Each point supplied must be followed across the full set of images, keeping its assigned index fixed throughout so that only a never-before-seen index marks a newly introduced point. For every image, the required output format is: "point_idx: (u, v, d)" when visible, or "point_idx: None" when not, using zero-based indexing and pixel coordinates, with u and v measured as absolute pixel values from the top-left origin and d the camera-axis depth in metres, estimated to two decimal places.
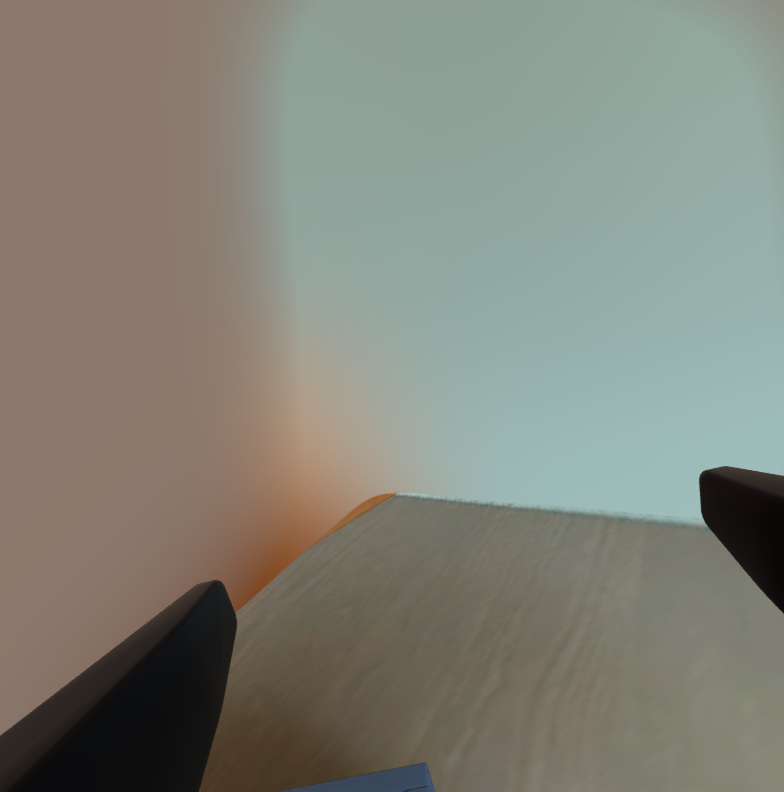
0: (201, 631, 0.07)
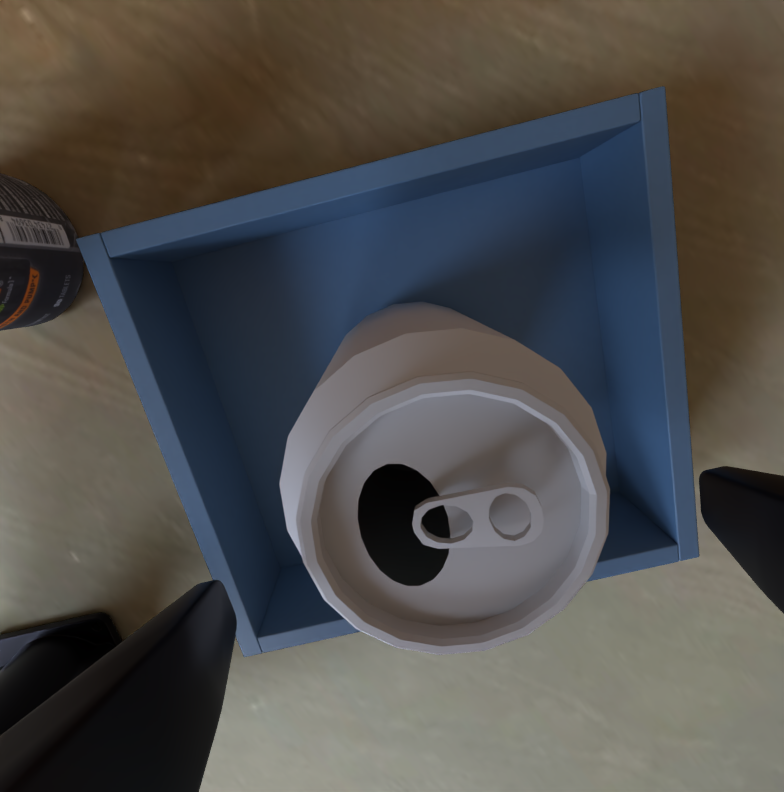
0: (201, 631, 0.07)
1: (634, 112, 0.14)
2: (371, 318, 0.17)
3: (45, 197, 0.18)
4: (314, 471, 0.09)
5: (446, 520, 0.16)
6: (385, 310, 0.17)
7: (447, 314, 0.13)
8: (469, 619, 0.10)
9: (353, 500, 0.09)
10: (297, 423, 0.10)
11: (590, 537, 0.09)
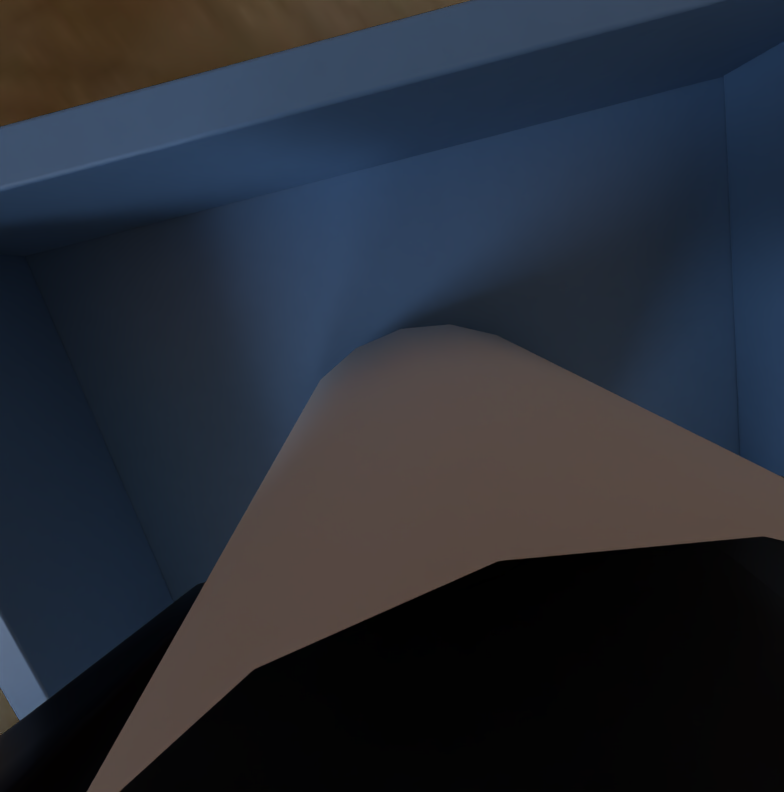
0: None
1: None
2: (362, 360, 0.09)
3: None
4: None
5: (504, 746, 0.08)
6: (387, 343, 0.10)
7: (536, 373, 0.06)
8: None
9: None
10: None
11: None
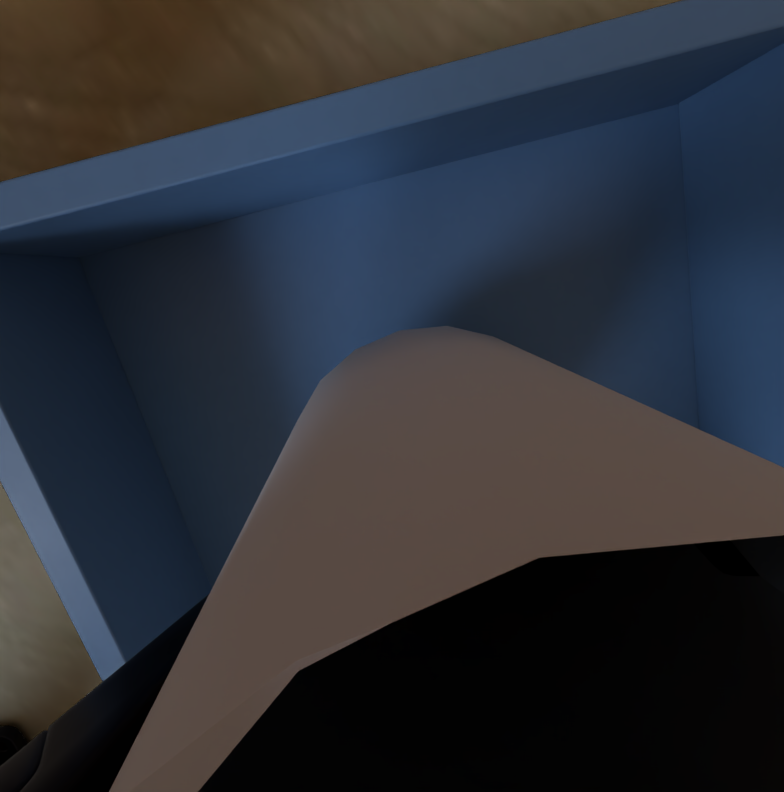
0: None
1: None
2: (363, 360, 0.09)
3: None
4: None
5: (505, 738, 0.09)
6: (388, 344, 0.10)
7: (537, 371, 0.06)
8: None
9: None
10: None
11: None
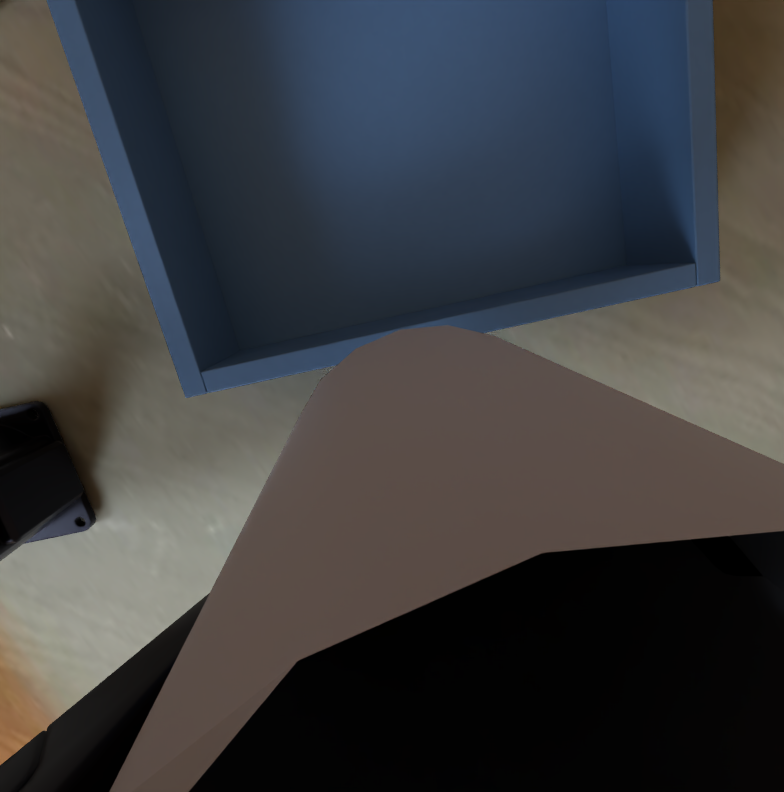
0: None
1: None
2: (364, 359, 0.09)
3: None
4: None
5: (506, 738, 0.09)
6: (388, 343, 0.10)
7: (539, 369, 0.06)
8: None
9: None
10: None
11: None
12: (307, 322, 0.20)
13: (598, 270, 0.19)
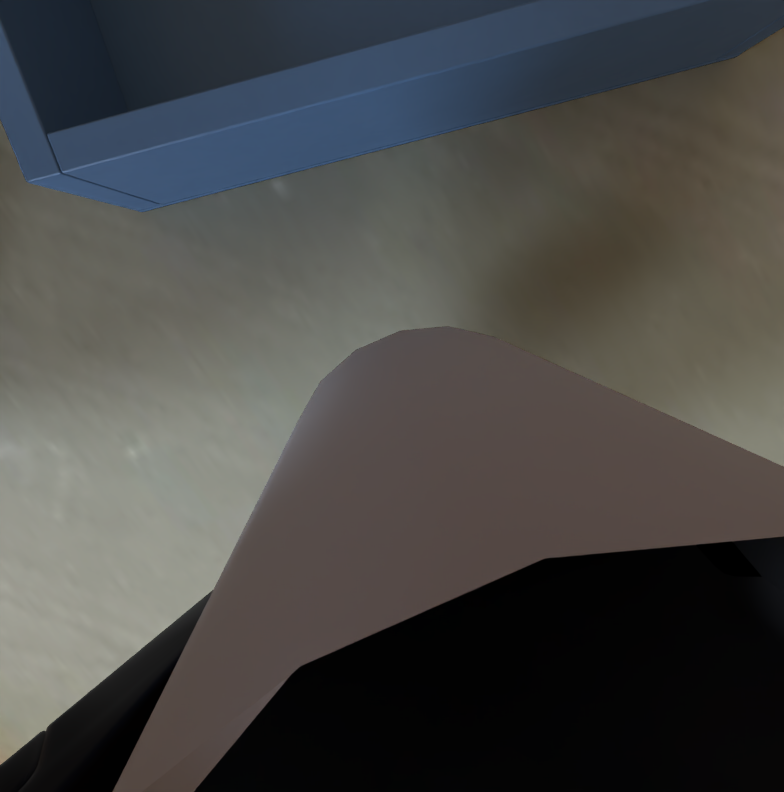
0: None
1: None
2: (364, 361, 0.09)
3: None
4: None
5: (506, 740, 0.09)
6: (389, 344, 0.10)
7: (540, 371, 0.06)
8: None
9: None
10: None
11: None
12: None
13: None
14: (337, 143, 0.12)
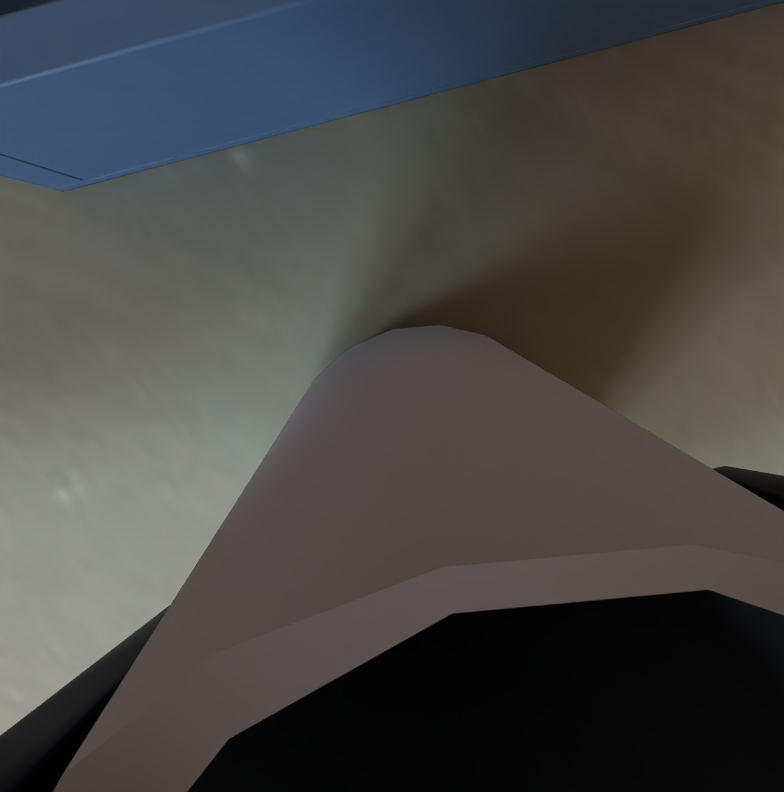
0: None
1: None
2: (353, 360, 0.09)
3: None
4: None
5: (488, 731, 0.09)
6: (379, 343, 0.10)
7: (512, 374, 0.06)
8: None
9: None
10: None
11: None
12: None
13: None
14: (312, 93, 0.09)
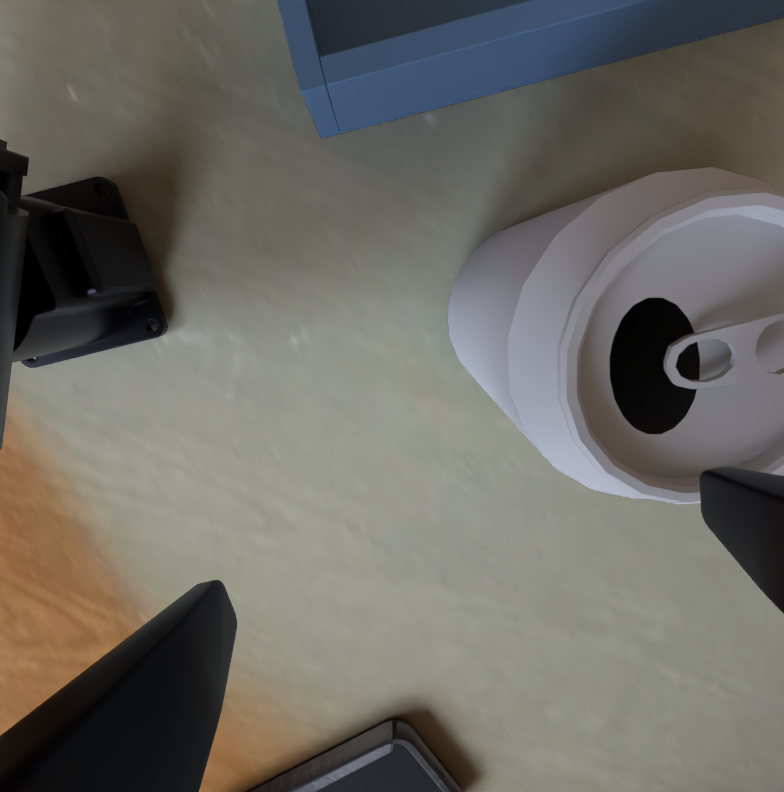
0: (201, 631, 0.07)
1: None
2: (513, 227, 0.16)
3: None
4: (591, 294, 0.08)
5: None
6: (521, 222, 0.17)
7: None
8: None
9: (608, 338, 0.09)
10: (536, 269, 0.10)
11: None
12: None
13: None
14: (492, 77, 0.16)
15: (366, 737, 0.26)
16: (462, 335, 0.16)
